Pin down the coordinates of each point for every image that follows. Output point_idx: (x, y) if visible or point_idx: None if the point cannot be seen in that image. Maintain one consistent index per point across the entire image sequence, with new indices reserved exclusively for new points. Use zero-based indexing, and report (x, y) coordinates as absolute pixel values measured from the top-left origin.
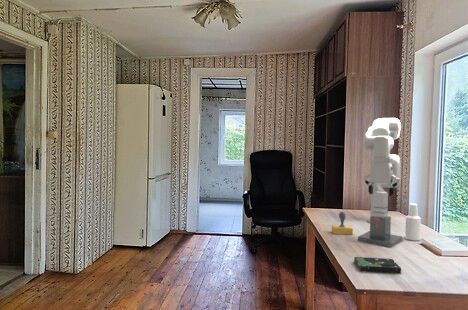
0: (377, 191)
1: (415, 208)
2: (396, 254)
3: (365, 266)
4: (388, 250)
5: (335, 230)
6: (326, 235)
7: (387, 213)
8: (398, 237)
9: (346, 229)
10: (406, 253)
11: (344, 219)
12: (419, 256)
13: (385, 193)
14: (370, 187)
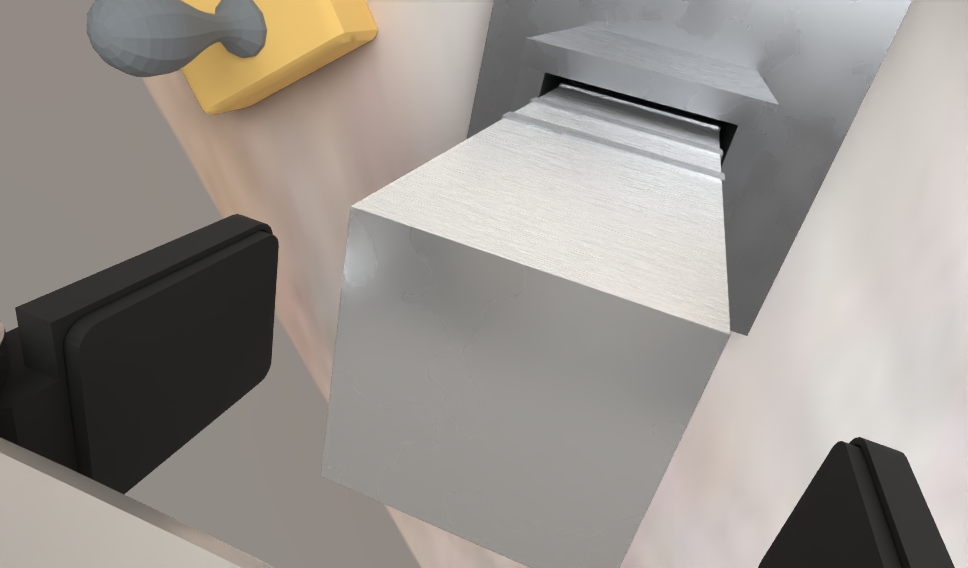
0: (351, 229)
1: None
2: (768, 475)
3: None
4: (713, 401)
5: (234, 107)
6: (223, 178)
7: (719, 148)
8: (855, 67)
9: (302, 67)
10: (858, 433)
11: (204, 35)
12: (961, 477)
13: (638, 518)
14: (111, 487)
